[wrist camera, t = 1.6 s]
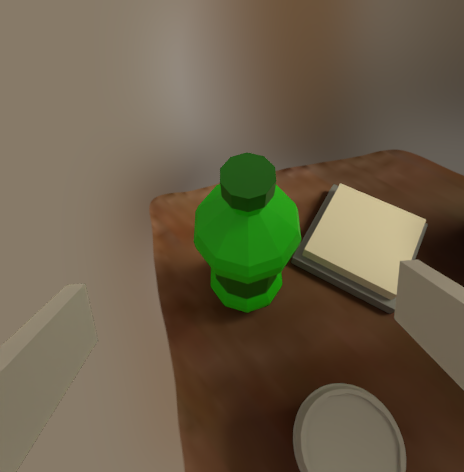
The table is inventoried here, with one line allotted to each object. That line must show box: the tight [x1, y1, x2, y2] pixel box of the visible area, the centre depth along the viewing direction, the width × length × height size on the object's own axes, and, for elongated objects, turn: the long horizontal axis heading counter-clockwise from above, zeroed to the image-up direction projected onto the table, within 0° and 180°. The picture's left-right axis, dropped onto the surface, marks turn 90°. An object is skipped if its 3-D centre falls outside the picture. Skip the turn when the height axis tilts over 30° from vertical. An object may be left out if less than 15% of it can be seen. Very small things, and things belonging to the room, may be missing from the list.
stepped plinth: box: [291, 183, 428, 314], centre depth 46 cm, size 15×15×4 cm
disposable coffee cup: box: [293, 383, 406, 472], centre depth 31 cm, size 10×10×12 cm
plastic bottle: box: [194, 153, 301, 313], centre depth 34 cm, size 10×10×25 cm
